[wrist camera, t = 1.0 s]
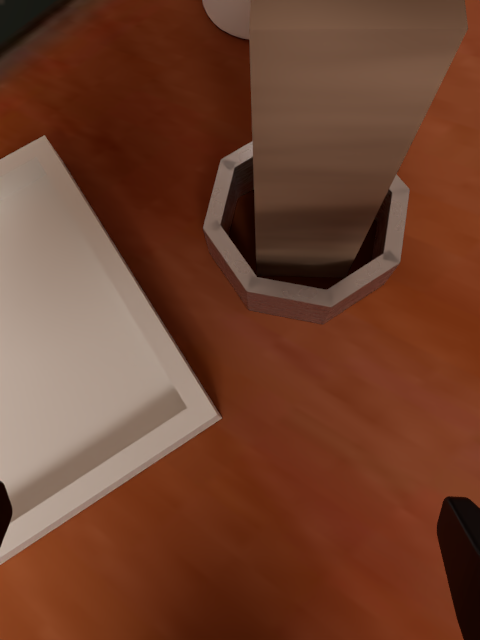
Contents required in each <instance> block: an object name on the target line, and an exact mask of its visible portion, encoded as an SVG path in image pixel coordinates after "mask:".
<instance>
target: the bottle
mask: <svg viewBox="0 0 480 640" xmlns="http://www.w3.org/2000/svg"><path fill="white" fill-rule="evenodd" d="M202 2H203V6H204V8H205V11H206V13H207V15H208V16H209V18H210V19H211V20H212V22H213V23H214V24H215V25H217V26H218V27H219V28H220V29H221V30H223V31H225V32H227V33H229V34H231V35H233V36H236V37H239V38H242V39H248V40H249V22H250V2H251V0H202Z"/></svg>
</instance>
